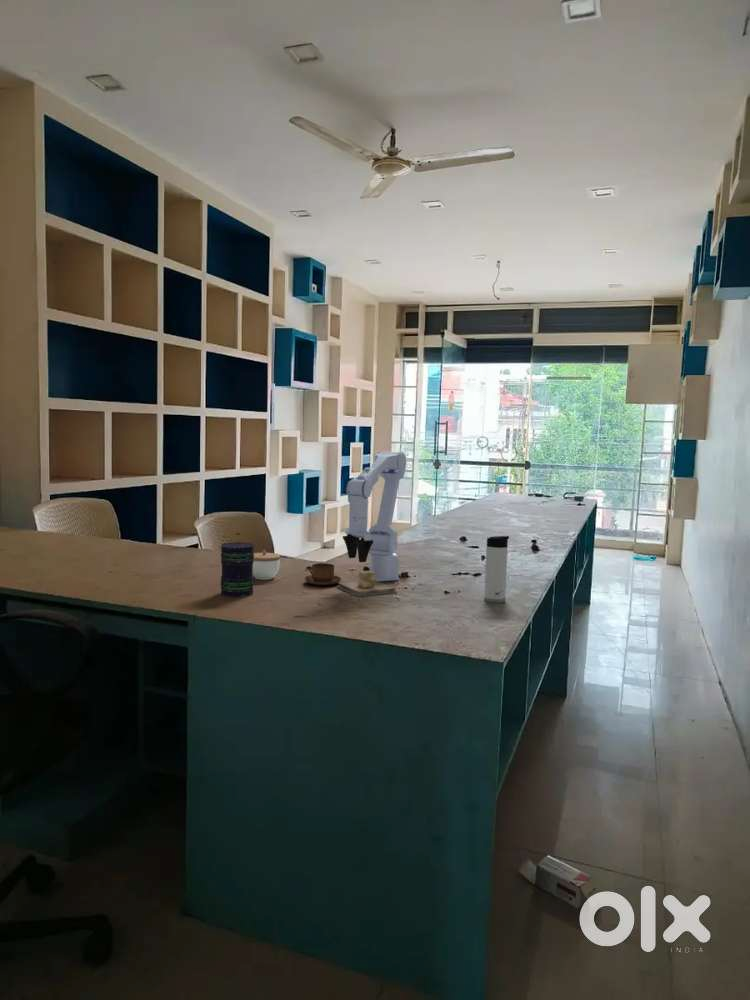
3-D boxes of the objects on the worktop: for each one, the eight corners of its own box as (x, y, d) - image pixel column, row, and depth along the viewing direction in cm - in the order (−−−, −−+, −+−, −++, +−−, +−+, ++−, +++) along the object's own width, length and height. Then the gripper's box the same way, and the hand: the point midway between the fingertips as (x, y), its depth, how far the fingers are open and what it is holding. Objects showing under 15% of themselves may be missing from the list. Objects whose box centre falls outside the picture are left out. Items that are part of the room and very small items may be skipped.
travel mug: (501, 604, 203) (504, 537, 201) (480, 600, 207) (483, 535, 205) (509, 600, 208) (512, 535, 207) (489, 597, 212) (491, 533, 210)
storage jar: (253, 597, 203) (254, 537, 202) (219, 597, 202) (219, 537, 200) (253, 589, 213) (254, 532, 212) (221, 590, 212) (221, 532, 210)
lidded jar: (273, 582, 225) (274, 553, 224) (242, 579, 227) (243, 552, 226) (284, 575, 235) (284, 548, 235) (254, 573, 238) (255, 547, 237)
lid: (374, 582, 226) (375, 566, 225) (394, 590, 214) (394, 574, 214) (339, 585, 220) (339, 569, 219) (357, 594, 208) (357, 577, 208)
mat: (375, 583, 226) (375, 582, 226) (396, 592, 214) (396, 591, 214) (337, 587, 220) (337, 585, 220) (356, 596, 208) (356, 594, 208)
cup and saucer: (298, 585, 222) (298, 566, 221) (314, 578, 233) (314, 560, 232) (331, 589, 217) (332, 570, 217) (346, 582, 229) (347, 564, 228)
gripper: (337, 515, 220) (336, 556, 221) (356, 520, 207) (355, 564, 209) (357, 514, 223) (356, 555, 225) (377, 519, 211) (376, 563, 212)
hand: (357, 559), depth 217 cm, fingers open, 7 cm apart
